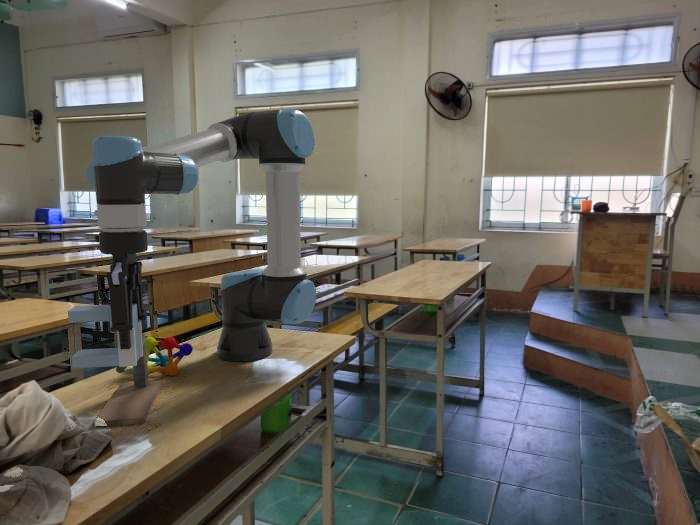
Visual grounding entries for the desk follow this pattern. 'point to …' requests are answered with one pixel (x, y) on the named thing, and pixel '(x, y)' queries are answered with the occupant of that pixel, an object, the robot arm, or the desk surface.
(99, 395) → the desk surface
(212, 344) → the desk surface
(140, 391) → the stand
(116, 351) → the c link
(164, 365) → the molecular model
